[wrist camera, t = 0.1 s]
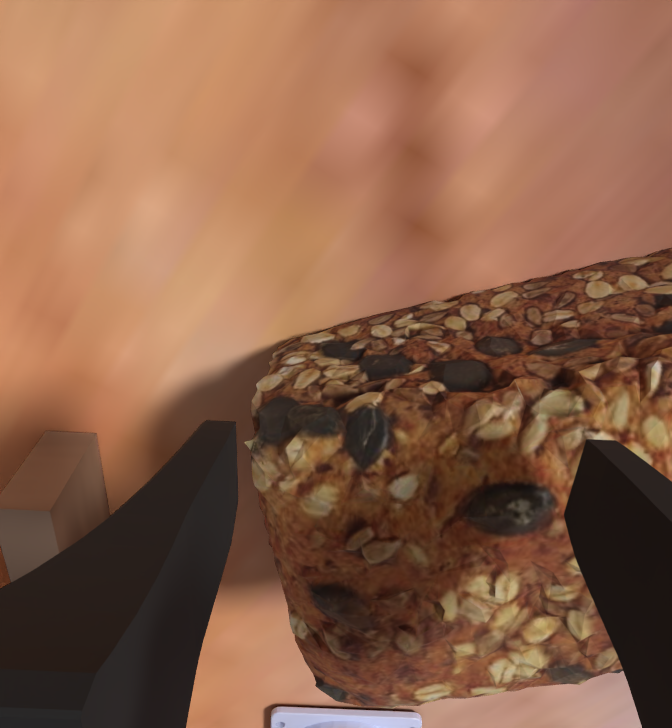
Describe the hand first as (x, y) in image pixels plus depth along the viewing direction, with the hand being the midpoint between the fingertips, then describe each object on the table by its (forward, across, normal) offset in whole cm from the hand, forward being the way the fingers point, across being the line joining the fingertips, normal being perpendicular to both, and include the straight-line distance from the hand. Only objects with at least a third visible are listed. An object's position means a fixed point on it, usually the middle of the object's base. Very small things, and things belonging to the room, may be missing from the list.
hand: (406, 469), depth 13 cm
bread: (+10, -6, +4) cm, 13 cm away
